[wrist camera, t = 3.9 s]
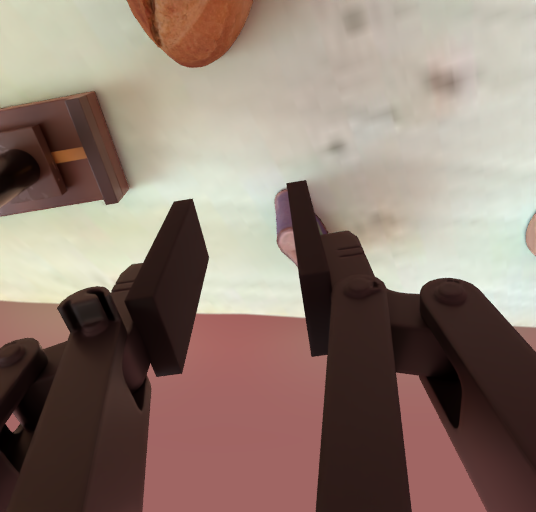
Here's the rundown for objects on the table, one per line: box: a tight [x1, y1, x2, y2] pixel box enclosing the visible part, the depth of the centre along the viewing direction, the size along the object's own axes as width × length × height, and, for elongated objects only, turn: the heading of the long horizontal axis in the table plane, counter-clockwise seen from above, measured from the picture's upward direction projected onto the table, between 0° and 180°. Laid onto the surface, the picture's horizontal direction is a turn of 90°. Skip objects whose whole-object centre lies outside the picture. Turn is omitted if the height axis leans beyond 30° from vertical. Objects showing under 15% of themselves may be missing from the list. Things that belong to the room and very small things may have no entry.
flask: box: [275, 190, 328, 267], centre depth 37 cm, size 9×3×11 cm, turn 34°
